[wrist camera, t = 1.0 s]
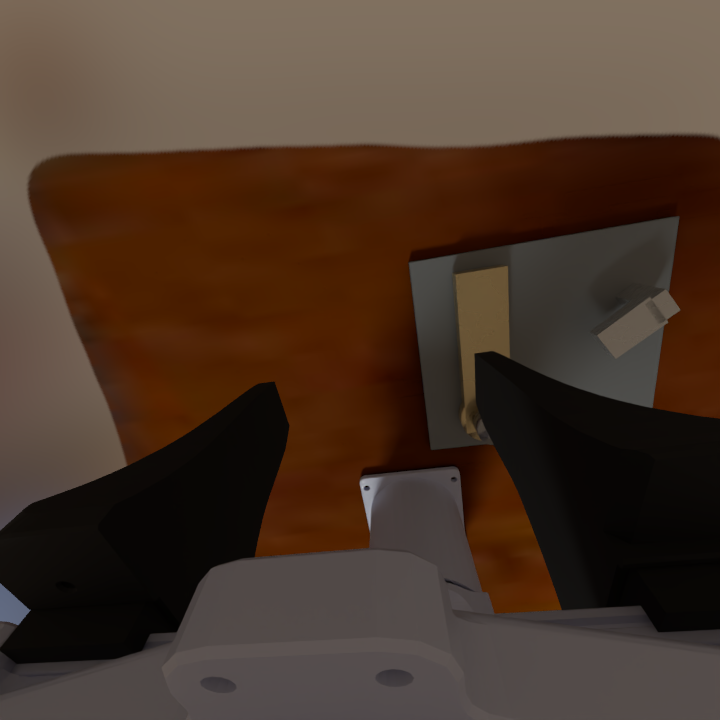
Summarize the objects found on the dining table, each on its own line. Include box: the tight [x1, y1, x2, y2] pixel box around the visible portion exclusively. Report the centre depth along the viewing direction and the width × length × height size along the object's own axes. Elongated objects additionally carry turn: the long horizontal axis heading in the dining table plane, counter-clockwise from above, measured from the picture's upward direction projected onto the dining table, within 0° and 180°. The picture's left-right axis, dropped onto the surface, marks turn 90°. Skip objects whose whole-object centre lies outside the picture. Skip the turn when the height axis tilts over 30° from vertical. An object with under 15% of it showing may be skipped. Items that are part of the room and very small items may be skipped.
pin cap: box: [473, 411, 494, 445], centre depth 22 cm, size 2×2×1 cm
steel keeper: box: [589, 283, 680, 359], centre depth 20 cm, size 4×2×2 cm, turn 135°
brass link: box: [452, 265, 510, 441], centre depth 22 cm, size 12×4×1 cm, turn 10°
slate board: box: [409, 216, 679, 450], centre depth 23 cm, size 14×16×1 cm
